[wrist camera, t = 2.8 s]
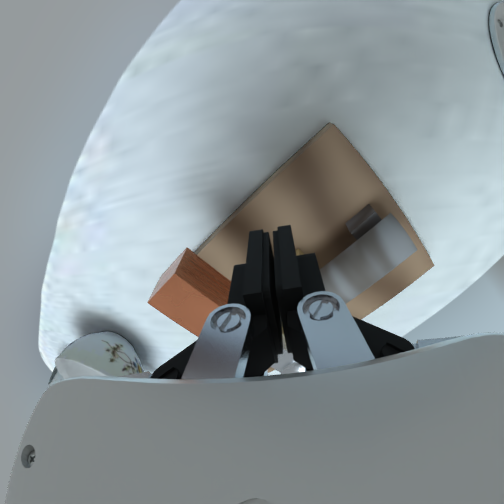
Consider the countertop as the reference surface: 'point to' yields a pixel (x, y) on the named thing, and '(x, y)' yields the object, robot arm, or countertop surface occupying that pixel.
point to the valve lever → (200, 299)
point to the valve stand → (329, 224)
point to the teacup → (98, 357)
